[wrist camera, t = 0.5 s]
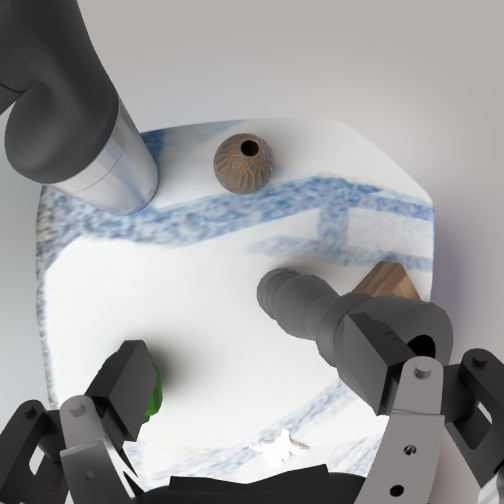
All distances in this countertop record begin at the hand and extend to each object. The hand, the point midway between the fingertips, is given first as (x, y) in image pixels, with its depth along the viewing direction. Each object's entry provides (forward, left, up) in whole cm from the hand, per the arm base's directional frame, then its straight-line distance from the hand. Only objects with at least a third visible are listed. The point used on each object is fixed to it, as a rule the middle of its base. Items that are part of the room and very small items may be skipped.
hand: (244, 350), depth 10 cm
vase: (-9, +11, -24) cm, 28 cm away
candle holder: (+6, +5, -24) cm, 25 cm away
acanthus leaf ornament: (+26, -11, -24) cm, 37 cm away
